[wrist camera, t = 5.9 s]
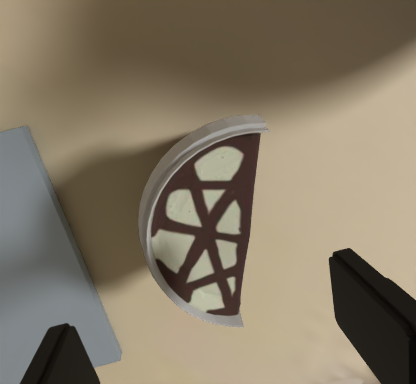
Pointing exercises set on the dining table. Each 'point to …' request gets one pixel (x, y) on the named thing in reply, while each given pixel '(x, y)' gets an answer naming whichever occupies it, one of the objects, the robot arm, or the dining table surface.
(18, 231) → the slate mat
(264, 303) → the dining table surface
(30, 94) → the dining table surface
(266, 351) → the dining table surface
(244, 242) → the food container
